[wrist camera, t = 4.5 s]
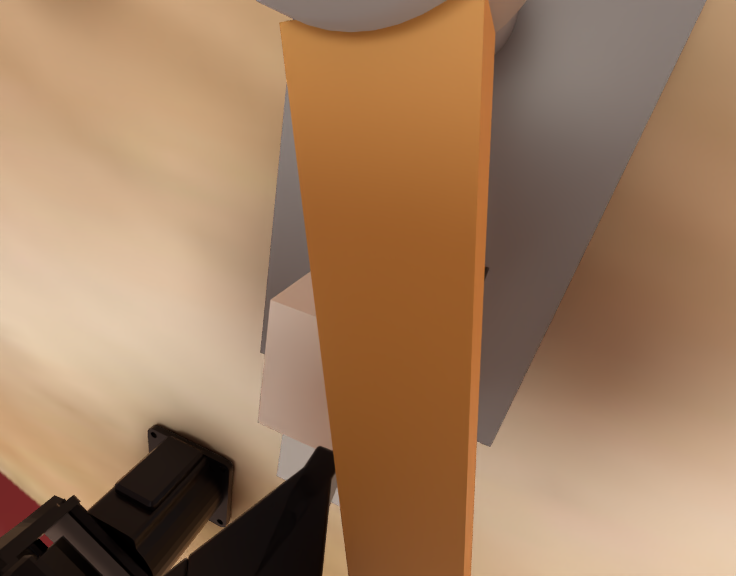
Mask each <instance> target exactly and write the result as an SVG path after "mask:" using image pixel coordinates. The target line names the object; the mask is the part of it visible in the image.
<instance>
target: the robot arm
mask: <svg viewBox="0 0 736 576" xmlns="http://www.w3.org/2000/svg"><path fill="white" fill-rule="evenodd" d="M148 443H149V454H148V455H147V456H146V457H145V458H143V459H142V460H141V461H140V462H139V463H138V464H137V465H136V466H134V467H133V468H132V469H131V470H130V471H129V472H128V473H127V474H126V475H124V476H123V477H122V478H121V479H120V480H119V481H118V482H117V483H116V484H115V486H114V487H113V488H112V489H111V490H110V491H109V492H108V493H106V494H105V495H104V496H103V497H102V498H101V499H100V500H99V501H98V502H96V503H95V504H94V505H93V506H92V507H91V508H90V509H89V510H88V511H86V510H85V509H84V508H83V507H82V505H81V504H80V503H79V502H81V501H80V500H79V499H78V498H77V497H76V496H75V495H73V496H72V497H70V498H69V499H68V500H67V501H66V500H65V499H62V498H60V497H57V496H55V495H54V496H53V497H52V498H51V499H49V500H48V501H47V502H46V503H45V504H43V505H42V506H41V507H40V508H38V509H37V510H36V511H35V512H33V513H32V514H31V515H30V516H28V517H27V518H26V519H24V520H23V521H22V522H21V523H19V524H18V525H17V526H15V527H14V528H13V529H11V530H10V531H9V532H8V533H6V534H5V535H3V536H2V537H1V538H0V576H322V572H323V563H324V553H325V543H326V533H327V524H328V514H329V506H330V504H331V501H332V499H333V496H334V494H335V491H336V489H337V479H336V471H335V463H334V455H333V450H330V449H328V448H325V447H323V446H318V447H317V448H316V449H315V450H314V452H313V453H312V455H311V456H310V458H309V460H308V461H307V463H306V464H305V466H304V467H303V468H302V469H300V470H299V471H298V472H296V473H295V474H294V475H292V476H291V477H290V478H289V479H287V480H286V481H285V482H283V483H282V484H281V485H280V486H278V487H277V488H276V489H274V490H273V491H272V492H270V493H269V494H268V495H267V496H265V497H264V498H263V499H261V500H260V501H259V502H257V503H256V504H255V505H254V506H252V507H251V508H250V509H248V510H247V511H246V512H244V513H243V514H242V515H241V516H239V517H238V518H237V519H235V520H234V521H233V522H232V523H230V524H229V525H228V526H226V525H227V524H228V522H229V521H230V509H231V495H232V481H233V464H232V463H231V462H230V461H229V460H227V459H226V458H224V457H221V456H219V455H217V454H215V453H213V452H211V451H209V450H207V449H205V448H203V447H201V446H199V445H197V444H195V443H193V442H191V441H189V440H187V439H185V438H183V437H181V436H179V435H176V434H174V433H172V432H170V431H168V430H166V429H164V428H162V427H160V426H158V425H154V426H152V427H151V428H150V429H149V430H148ZM208 520H209V521H211V522H213V523H215V524H216V525H218V526H220V527H225V528H224V529H222V530H221V531H220V532H219V533H217V534H216V535H215V536H213V537H212V538H211V539H209V540H208V541H207V542H206V543H204V544H203V545H202V546H200V547H199V548H198V549H197V550H195V551H194V552H193V553H191V554H190V555H189V558H188V559H187V558H185V559H183V560H182V561H181V562H179V563H178V564H177V565H175V566H174V567H173V565H174V564H175V563H176V561H177V560H178V559H179V558H180V556H181V555H182V554H183V552H184V551H185V550H186V549H187V547H188V546H189V545H190V543H191V542H192V541H193V540H194V538H195V537H196V536H197V534H198V533H199V532H200V531H201V529H202V528H203V527H204V525H205V524H206V523H207V522H208ZM44 534H45V535H46V536H47V537H49V539H50V540H51V541H53V544H52V545H51V546H50V547H49V548H48V547H47V546H46V545H45V544H44V543H43V542H42V541H41V540H40V539H39V538H40V537H41V536H42V535H44ZM172 567H173V568H172ZM171 568H172V569H171Z"/></svg>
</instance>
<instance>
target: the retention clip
mask: <svg viewBox="0 0 736 576" xmlns="http://www.w3.org/2000/svg"><path fill="white" fill-rule="evenodd" d="M256 1H258V2H259V3H261V4H263V5H265V6H268V7H270V8H272V9H274V10H276V11H278V12H280V13H282V14H284V15H286V16H288V17H290V18H292V19H295V20H290V21H285V22H280V31H281V39H282V47H283V55H284V63H285V71H286V79H287V87H288V95H289V103H290V111H291V119H292V127H293V135H294V143H295V151H296V159H297V167H298V175H299V183H300V191H301V199H302V207H303V215H304V223H305V231H306V239H307V247H308V255H309V263H310V271H311V279H312V287H313V295H314V303H315V311H316V319H317V327H318V335H319V343H320V351H321V359H322V367H323V375H324V383H325V391H326V399H327V407H328V415H329V423H330V431H331V439H332V447H333V455H334V463H335V471H336V479H337V487H338V495H339V503H340V511H341V519H342V527H343V535H344V543H345V551H346V559H347V567H348V575H349V576H470V575H471V558H472V536H473V514H474V492H475V470H476V448H477V426H478V404H479V382H480V360H481V338H482V316H483V294H484V273H485V251H486V229H487V207H488V185H489V163H490V141H491V119H492V97H493V75H494V53H495V33H496V32H498V31H499V30H500V29H501V28H502V27H503V26H505V25H506V24H507V22H508V21H509V20H510V19H511V18H512V17H513V16H514V15H515V14H516V13H517V12H518V11H519V10H520V8H521V7H522V6H523V4H524V3H525V2H526V0H256Z"/></svg>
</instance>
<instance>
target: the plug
mask: <svg viewBox="0 0 736 576" xmlns="http://www.w3.org/2000/svg"><path fill="white" fill-rule="evenodd" d="M258 423H260V424H262V425H264V426H266V427H268V428H271V429H273V430H275V431H277V432H279V433H282V434H284V435H286V436H288V437H290V438H293V439H295V440H297V441H299V442H301V443H303V444H306V445H308V446H310V447H312V448H314V449H316V448H317V447H318V446H323V447H325V448H328V449H330V450H333V447H332V439H331V431H330V423H329V415H328V407H327V399H326V391H325V383H324V375H323V367H322V359H321V351H320V343H319V335H318V327H317V319H316V311H315V303H314V295H313V287H312V279H311V271H310V272H309V273H307V274H306V275H305V276H303V277H302V278H300V279H299V280H298V281H296V282H295V283H293V284H292V285H291V286H289V287H288V288H286V289H285V290H284V291H282V292H281V293H279V294H278V295H277V296H275V297H274V298H272V299H271V300H270V309H269V319H268V328H267V338H266V347H265V357H264V367H263V376H262V386H261V396H260V405H259V415H258Z"/></svg>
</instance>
